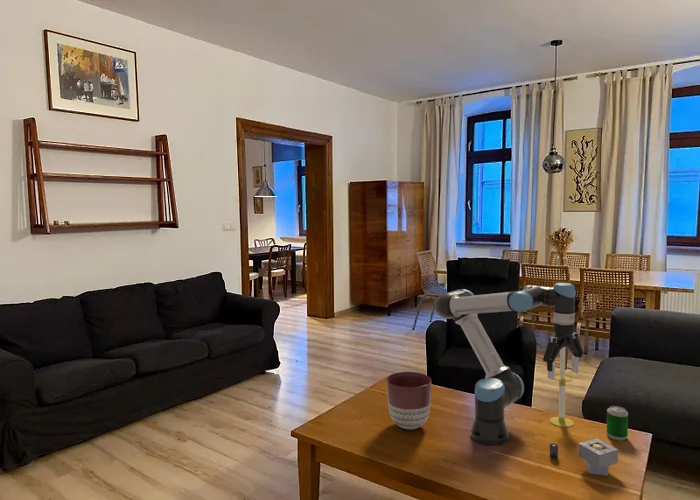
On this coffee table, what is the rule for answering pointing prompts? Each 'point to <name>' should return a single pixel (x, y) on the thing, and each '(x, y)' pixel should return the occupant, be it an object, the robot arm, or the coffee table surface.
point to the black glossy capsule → (553, 450)
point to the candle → (562, 394)
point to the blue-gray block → (594, 469)
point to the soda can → (617, 423)
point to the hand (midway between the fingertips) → (563, 375)
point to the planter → (409, 398)
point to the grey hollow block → (598, 453)
